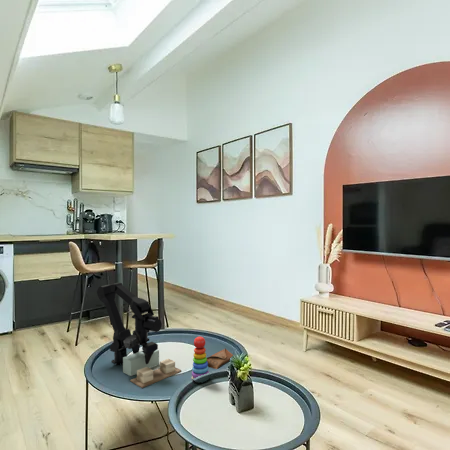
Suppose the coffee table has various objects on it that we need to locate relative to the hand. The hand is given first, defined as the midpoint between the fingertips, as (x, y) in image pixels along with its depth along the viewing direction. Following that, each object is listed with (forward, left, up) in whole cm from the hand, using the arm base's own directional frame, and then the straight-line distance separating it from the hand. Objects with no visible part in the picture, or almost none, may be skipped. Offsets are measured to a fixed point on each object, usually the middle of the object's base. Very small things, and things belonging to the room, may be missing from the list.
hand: (141, 361), depth 156 cm
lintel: (0, 0, -4) cm, 4 cm away
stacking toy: (+29, +11, -4) cm, 31 cm away
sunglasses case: (+22, +31, -4) cm, 38 cm away
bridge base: (+12, 0, -3) cm, 13 cm away
